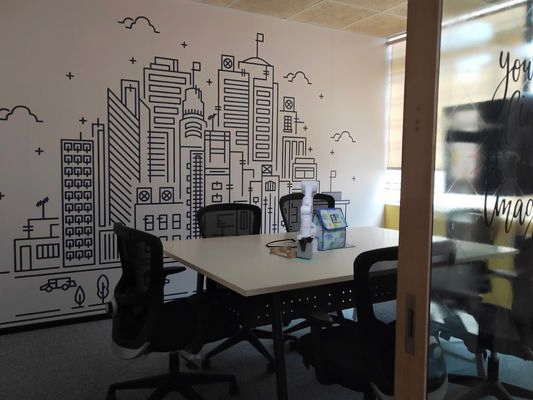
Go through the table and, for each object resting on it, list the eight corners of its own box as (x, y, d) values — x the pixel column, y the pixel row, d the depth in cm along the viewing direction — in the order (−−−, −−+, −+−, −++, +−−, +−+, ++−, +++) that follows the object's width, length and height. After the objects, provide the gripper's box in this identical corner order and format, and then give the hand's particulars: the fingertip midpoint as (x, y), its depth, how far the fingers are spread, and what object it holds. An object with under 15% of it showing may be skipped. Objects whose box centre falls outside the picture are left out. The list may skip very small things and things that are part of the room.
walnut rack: (290, 251, 271) (290, 245, 270) (308, 256, 258) (308, 249, 258) (270, 254, 261) (270, 247, 260) (288, 259, 248) (288, 252, 248)
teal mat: (307, 257, 255) (307, 256, 255) (318, 260, 248) (318, 259, 248) (291, 260, 247) (291, 259, 247) (302, 263, 240) (302, 262, 240)
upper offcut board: (291, 252, 267) (291, 250, 267) (302, 255, 259) (302, 253, 259) (286, 253, 264) (286, 251, 264) (297, 256, 257) (297, 253, 257)
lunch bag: (325, 252, 272) (326, 210, 270) (306, 247, 285) (307, 207, 283) (348, 248, 286) (350, 208, 284) (329, 244, 299) (331, 206, 297)
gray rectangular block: (300, 255, 252) (300, 241, 251) (312, 257, 247) (312, 243, 246) (296, 256, 249) (297, 242, 248) (308, 258, 244) (309, 244, 243)
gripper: (307, 224, 254) (306, 248, 255) (292, 227, 243) (292, 251, 244) (317, 226, 250) (316, 249, 251) (303, 228, 239) (302, 253, 240)
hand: (305, 250), depth 247 cm, fingers closed on gray rectangular block, 3 cm apart
